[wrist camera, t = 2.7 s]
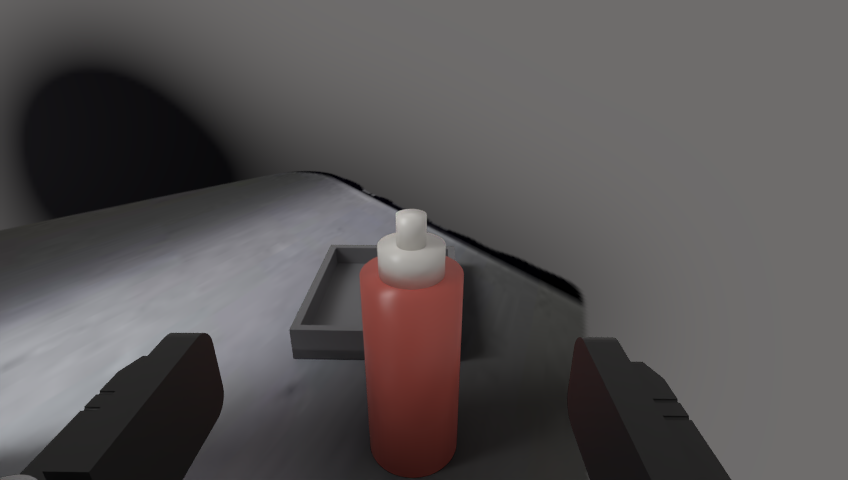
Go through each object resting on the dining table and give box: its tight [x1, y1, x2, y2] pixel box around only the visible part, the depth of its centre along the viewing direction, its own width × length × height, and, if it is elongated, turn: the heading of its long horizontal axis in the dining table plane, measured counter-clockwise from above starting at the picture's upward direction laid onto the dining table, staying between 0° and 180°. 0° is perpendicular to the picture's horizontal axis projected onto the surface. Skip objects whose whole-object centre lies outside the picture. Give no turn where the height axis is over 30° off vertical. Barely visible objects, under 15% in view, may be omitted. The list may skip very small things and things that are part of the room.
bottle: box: [359, 209, 464, 478], centre depth 24 cm, size 5×5×14 cm
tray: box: [290, 245, 455, 360], centre depth 39 cm, size 12×14×2 cm
